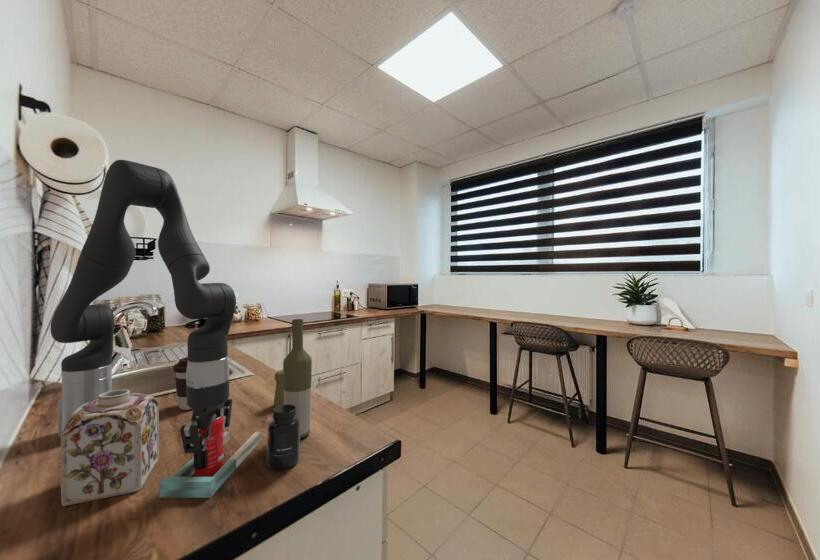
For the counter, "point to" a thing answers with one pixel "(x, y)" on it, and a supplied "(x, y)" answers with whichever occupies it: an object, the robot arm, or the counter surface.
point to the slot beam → (204, 486)
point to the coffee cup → (181, 383)
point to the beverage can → (213, 449)
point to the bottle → (298, 378)
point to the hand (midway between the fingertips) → (209, 459)
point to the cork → (279, 389)
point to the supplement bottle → (283, 438)
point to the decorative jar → (109, 446)
